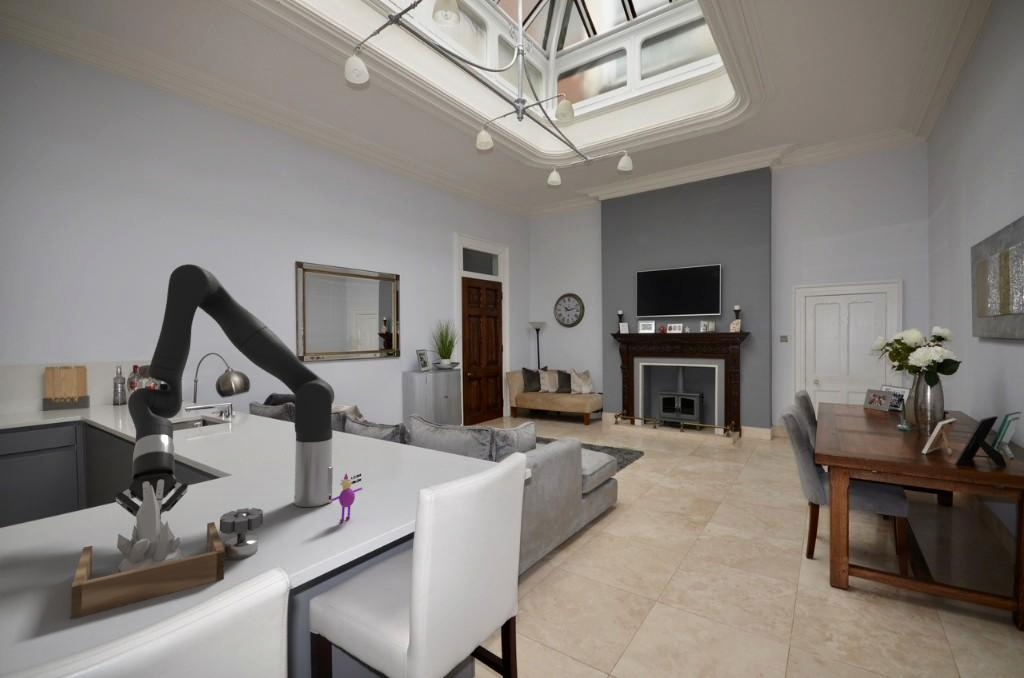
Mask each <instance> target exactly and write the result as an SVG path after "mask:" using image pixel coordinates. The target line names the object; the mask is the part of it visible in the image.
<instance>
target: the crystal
mask: <svg viewBox="0 0 1024 678" xmlns="http://www.w3.org/2000/svg"><path fill="white" fill-rule="evenodd" d="M139 506H140V508H139V510H138V512H137V514H136V517H135V519H136V523H135V524H136V525H135V524H134V525H133V529H132V534H131V539H130V540H129V539H128V538H127V537H124V536H123V535H121V534H120V533H118V534H117V544H116V547H117V549H118V550H119V552H120V553H121V554H123V555H124V556H125V557H124V558H123V560H122V561H121V562H120V563H119V565H118V566H117V568H118V570H119V571H120V572H119V573H122V572H126V571H131V570H135V569H140V568H144V567H148V566H153V565H157V564H161V563H166V562H170V561H174V560H179V559H181V557H182V556H183V554H182V552H181V549H180V547H179V546H180V544H181V539H180V537H177V538H176V539H175V537H176V536H175V534H174V533H173V531H172V530H171V528H170V526H169V522H168V520H166V522H165V524H164V523H163V521H162V520H160V508H159V505H158V502H157V499H156V496H155V493H154V490H153V487H152V485H150V488H149V490H148V492H147V494H146V496H145V498H144V500H143V502H141V504H140V505H139Z"/></svg>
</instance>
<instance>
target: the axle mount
mask: <svg viewBox="0 0 1024 678" xmlns="http://www.w3.org/2000/svg"><path fill="white" fill-rule="evenodd" d="M246 516H247V513H240V514H238V518H241V517H246ZM258 541H259V538H258V536H257V535H252V534H250V535H247V532H246V533H240V534H236V536H235V537H232V538H230V539H228V540H226V541H225V542H224V545H223V548H224V551H225V556H224V560H229V561H237V560H242V559H243V560H244V559H247V558H250V557H252V556H254V555H255V554H257V552H258V550H259V548H258V547H259V542H258Z"/></svg>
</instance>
